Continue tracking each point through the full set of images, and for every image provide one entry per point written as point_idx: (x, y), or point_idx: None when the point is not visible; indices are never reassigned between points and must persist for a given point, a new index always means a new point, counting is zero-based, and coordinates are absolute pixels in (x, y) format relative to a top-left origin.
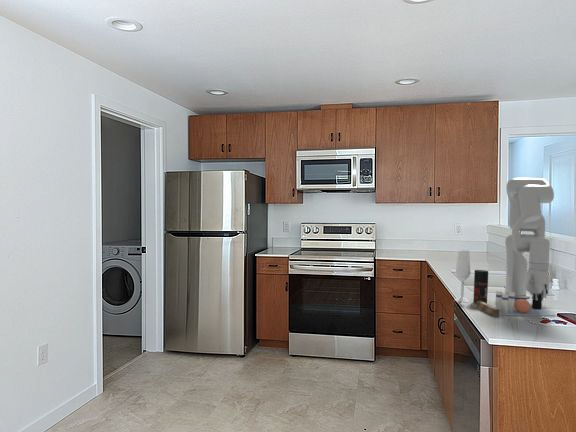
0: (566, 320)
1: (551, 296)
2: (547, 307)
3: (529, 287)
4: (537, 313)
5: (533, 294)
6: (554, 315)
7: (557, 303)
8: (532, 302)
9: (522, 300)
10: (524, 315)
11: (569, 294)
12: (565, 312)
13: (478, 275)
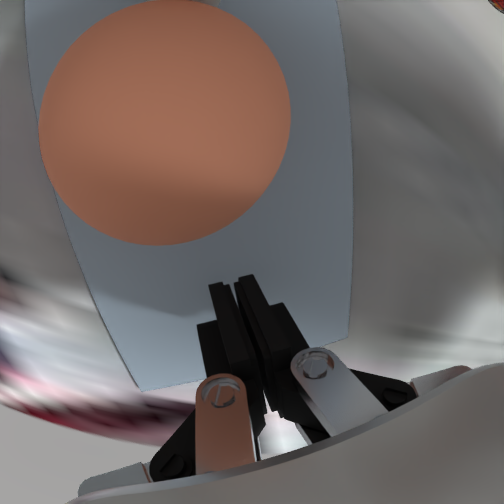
0: (37, 403)
1: None
2: (392, 378)
3: (438, 496)
4: (165, 284)
5: (326, 422)
6: (139, 387)
7: None
8: (272, 317)
9: (81, 106)
10: (36, 113)
11: None
12: (276, 439)
13: None
